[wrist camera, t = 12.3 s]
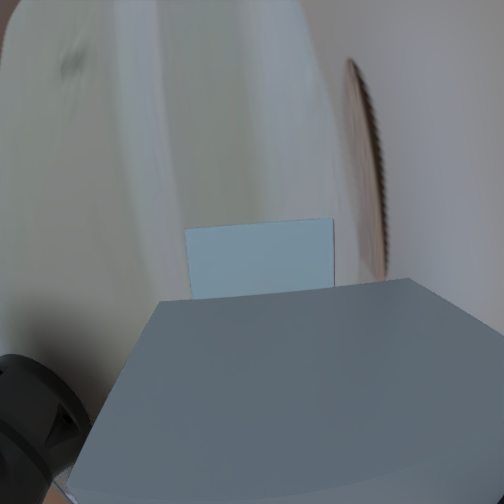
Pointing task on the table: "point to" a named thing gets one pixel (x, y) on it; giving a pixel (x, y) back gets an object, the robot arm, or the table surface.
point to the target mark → (260, 258)
